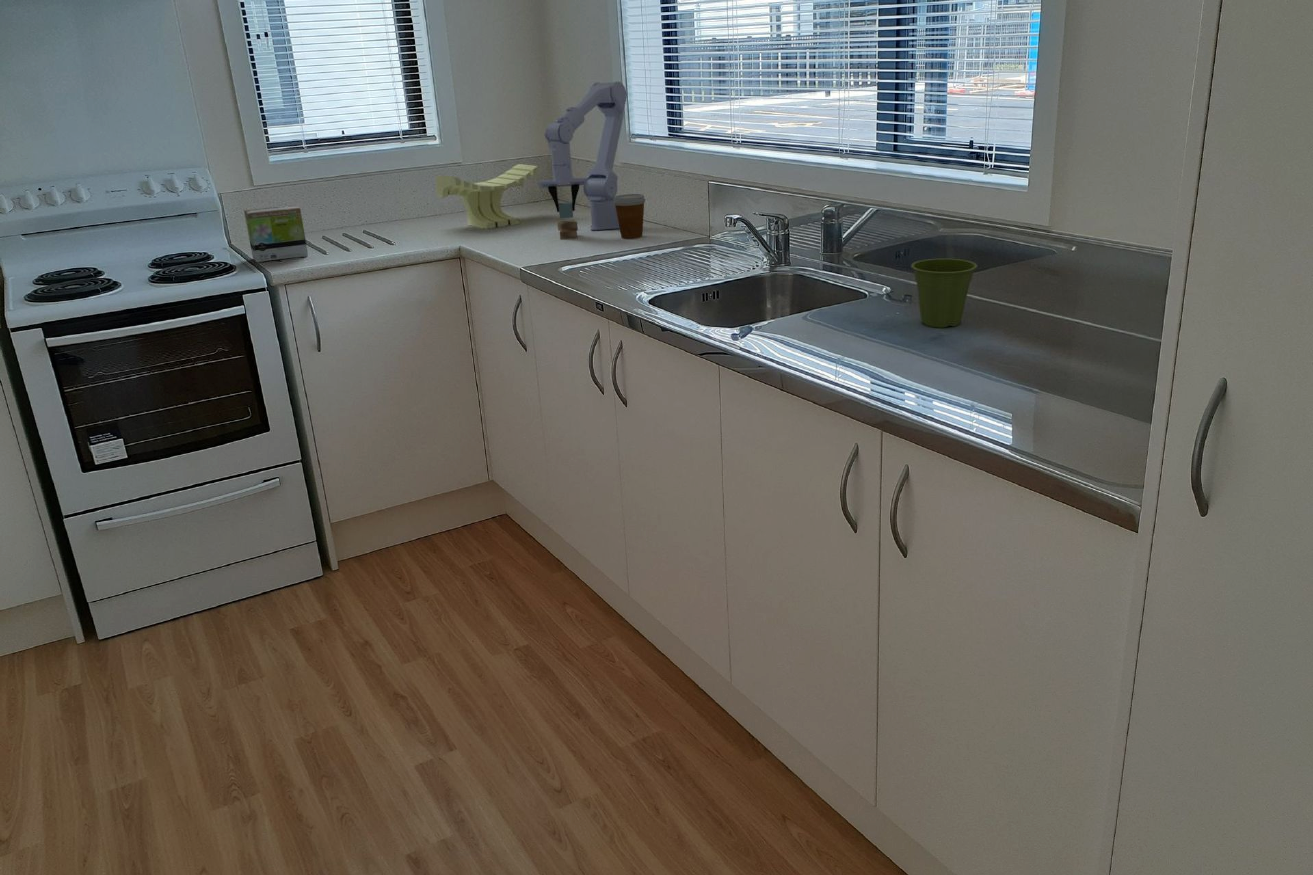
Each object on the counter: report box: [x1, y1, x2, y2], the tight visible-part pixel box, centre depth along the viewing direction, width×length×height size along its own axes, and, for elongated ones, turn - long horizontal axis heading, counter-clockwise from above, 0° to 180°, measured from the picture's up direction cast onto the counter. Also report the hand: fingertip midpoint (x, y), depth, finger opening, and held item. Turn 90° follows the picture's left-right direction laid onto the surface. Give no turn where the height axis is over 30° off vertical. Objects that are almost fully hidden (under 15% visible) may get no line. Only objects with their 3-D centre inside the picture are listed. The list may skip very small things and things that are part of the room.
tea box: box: [244, 204, 309, 263], centre depth 304 cm, size 15×10×15 cm
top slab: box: [557, 219, 579, 232], centre depth 307 cm, size 5×5×2 cm
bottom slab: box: [559, 231, 578, 240], centre depth 308 cm, size 5×5×2 cm
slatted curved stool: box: [435, 163, 539, 230], centre depth 340 cm, size 30×16×18 cm, turn 125°
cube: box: [558, 201, 574, 219], centre depth 305 cm, size 4×4×4 cm
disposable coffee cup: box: [613, 193, 646, 240], centre depth 300 cm, size 10×10×12 cm
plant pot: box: [910, 258, 978, 329], centre depth 190 cm, size 12×12×11 cm
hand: (565, 211), depth 306 cm, fingers closed on cube, 4 cm apart
